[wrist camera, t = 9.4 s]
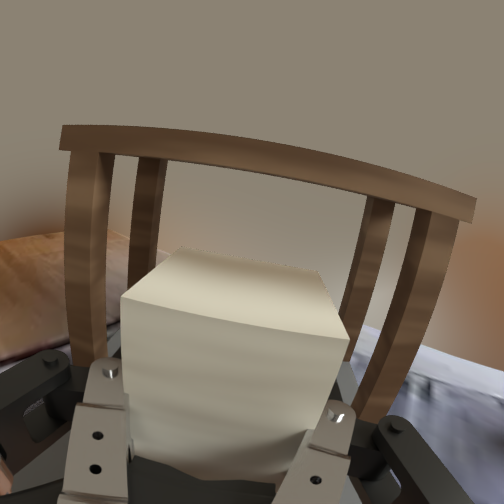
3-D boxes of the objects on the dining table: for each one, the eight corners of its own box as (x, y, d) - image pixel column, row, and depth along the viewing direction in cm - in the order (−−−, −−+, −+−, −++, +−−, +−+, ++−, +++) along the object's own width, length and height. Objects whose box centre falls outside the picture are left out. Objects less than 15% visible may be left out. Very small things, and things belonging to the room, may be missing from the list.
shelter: (386, 433, 18) (476, 198, 14) (64, 372, 18) (62, 125, 14) (354, 352, 29) (399, 187, 25) (126, 310, 30) (140, 141, 26)
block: (261, 530, 9) (350, 339, 6) (141, 507, 9) (120, 296, 6) (265, 451, 13) (317, 271, 11) (169, 433, 13) (181, 246, 11)
